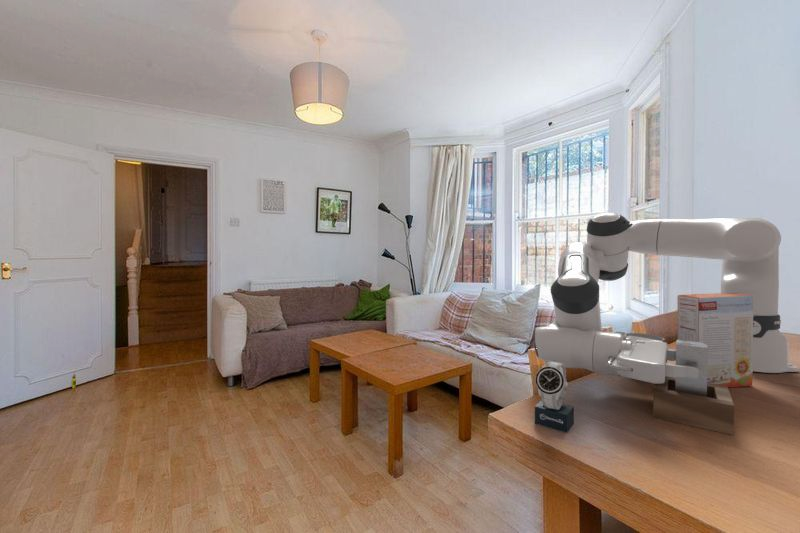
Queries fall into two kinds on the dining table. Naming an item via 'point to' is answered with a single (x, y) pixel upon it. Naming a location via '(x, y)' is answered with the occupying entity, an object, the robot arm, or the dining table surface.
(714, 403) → the well block
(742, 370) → the cracker box
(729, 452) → the dining table surface
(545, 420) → the watch
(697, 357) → the grey brushed metal pillar
